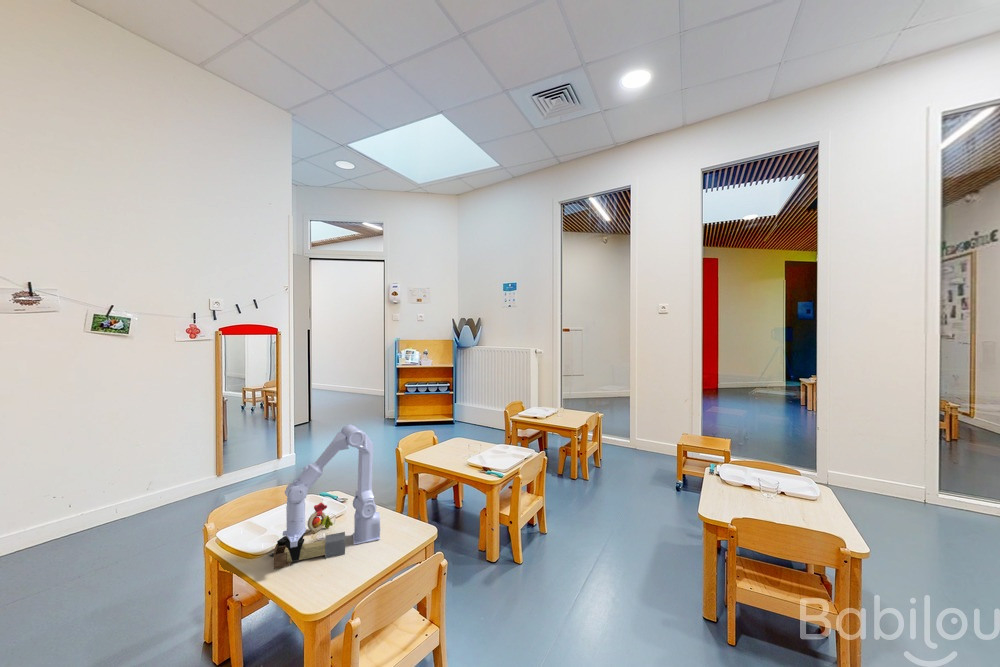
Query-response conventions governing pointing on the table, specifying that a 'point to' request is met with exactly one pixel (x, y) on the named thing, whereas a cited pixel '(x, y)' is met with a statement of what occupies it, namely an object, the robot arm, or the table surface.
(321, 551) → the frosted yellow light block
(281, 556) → the socket
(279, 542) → the black recessed box
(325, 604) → the table surface
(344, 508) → the table surface
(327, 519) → the bird rattle
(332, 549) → the sleeve
